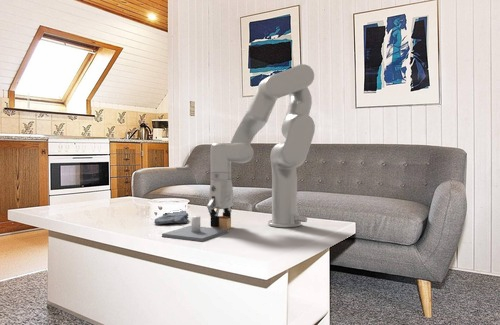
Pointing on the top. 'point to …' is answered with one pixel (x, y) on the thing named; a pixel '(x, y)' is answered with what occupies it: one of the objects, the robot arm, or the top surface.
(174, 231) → the grey square base plate
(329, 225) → the top surface
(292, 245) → the top surface
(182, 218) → the fossil
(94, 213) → the top surface
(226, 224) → the ring
